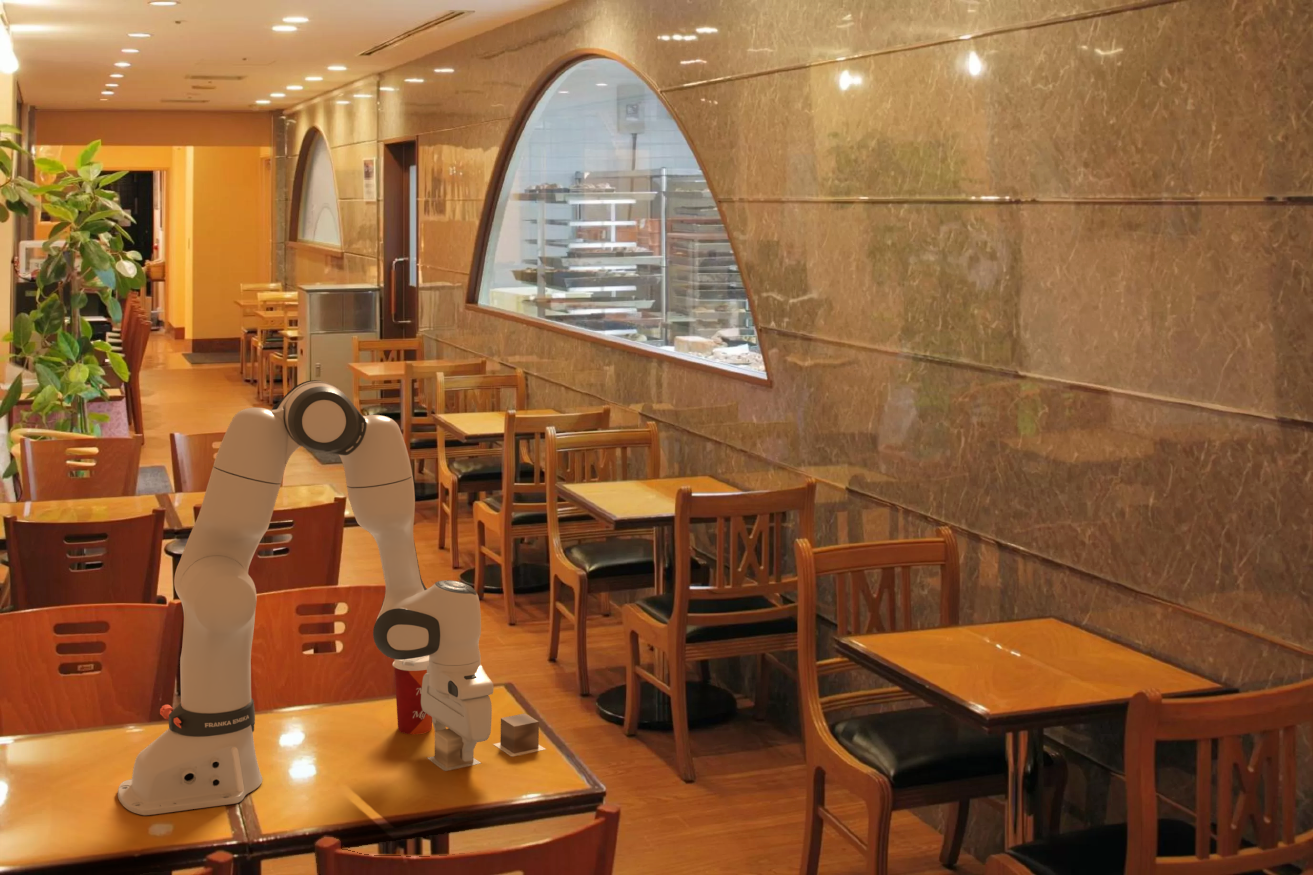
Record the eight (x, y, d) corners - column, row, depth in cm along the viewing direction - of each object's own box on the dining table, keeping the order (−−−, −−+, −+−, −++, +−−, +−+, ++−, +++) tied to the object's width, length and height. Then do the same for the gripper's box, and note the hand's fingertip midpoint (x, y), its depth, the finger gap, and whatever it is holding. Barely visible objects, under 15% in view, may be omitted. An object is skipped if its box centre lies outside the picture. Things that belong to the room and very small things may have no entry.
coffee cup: (427, 744, 245) (428, 664, 243) (385, 739, 246) (385, 660, 244) (444, 728, 253) (444, 651, 251) (402, 724, 254) (403, 647, 252)
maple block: (447, 767, 231) (447, 739, 230) (434, 758, 235) (434, 730, 234) (473, 762, 234) (473, 734, 233) (460, 753, 238) (460, 725, 237)
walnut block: (513, 753, 238) (514, 726, 238) (500, 744, 242) (500, 718, 242) (538, 748, 241) (538, 721, 240) (524, 739, 245) (525, 713, 244)
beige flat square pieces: (451, 785, 226) (451, 778, 226) (415, 758, 238) (415, 751, 238) (563, 760, 239) (563, 753, 239) (524, 735, 250) (524, 729, 250)
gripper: (412, 661, 239) (411, 735, 241) (464, 693, 222) (464, 773, 224) (444, 655, 242) (443, 729, 244) (498, 687, 226) (497, 766, 228)
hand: (453, 750), depth 234 cm, fingers open, 8 cm apart
